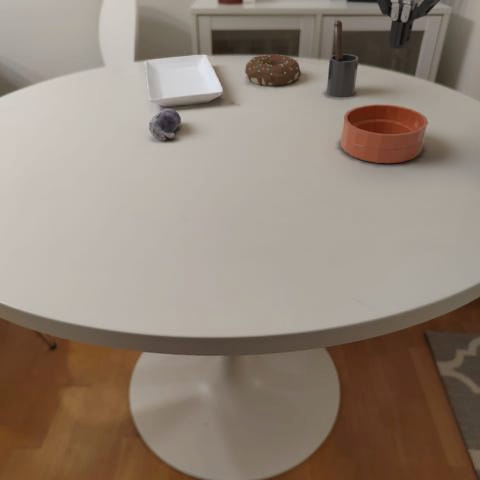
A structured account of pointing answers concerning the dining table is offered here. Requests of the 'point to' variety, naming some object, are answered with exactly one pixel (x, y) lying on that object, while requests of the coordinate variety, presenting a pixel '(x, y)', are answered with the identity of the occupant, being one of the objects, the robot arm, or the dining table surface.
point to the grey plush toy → (164, 124)
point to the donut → (272, 70)
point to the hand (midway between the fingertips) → (397, 47)
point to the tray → (181, 81)
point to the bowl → (383, 133)
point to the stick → (338, 41)
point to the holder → (342, 76)
